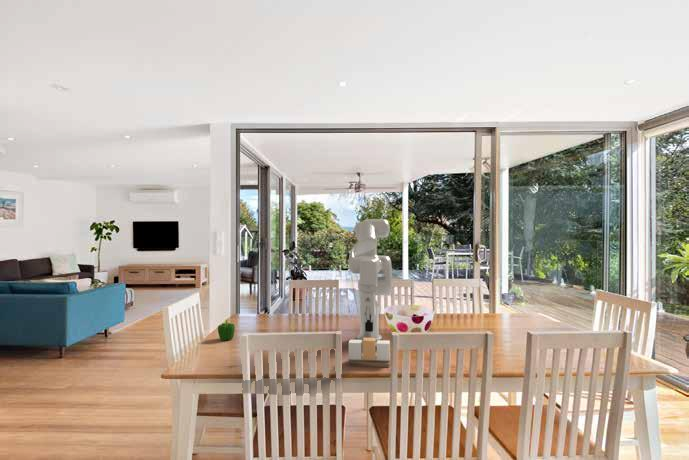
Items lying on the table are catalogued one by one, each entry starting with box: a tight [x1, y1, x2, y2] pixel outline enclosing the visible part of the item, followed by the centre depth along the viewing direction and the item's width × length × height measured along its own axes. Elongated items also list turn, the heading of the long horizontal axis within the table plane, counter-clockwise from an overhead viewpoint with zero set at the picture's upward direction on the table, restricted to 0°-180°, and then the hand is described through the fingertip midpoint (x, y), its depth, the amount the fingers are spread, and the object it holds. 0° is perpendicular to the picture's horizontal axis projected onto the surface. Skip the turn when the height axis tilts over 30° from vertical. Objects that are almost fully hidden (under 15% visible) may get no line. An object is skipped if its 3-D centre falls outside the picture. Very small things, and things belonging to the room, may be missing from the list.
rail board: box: [347, 339, 391, 368], centre depth 178 cm, size 10×17×9 cm, turn 82°
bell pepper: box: [217, 319, 236, 341], centre depth 218 cm, size 8×8×10 cm
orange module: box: [362, 338, 377, 360], centre depth 178 cm, size 5×5×8 cm
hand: (369, 330), depth 179 cm, fingers closed
